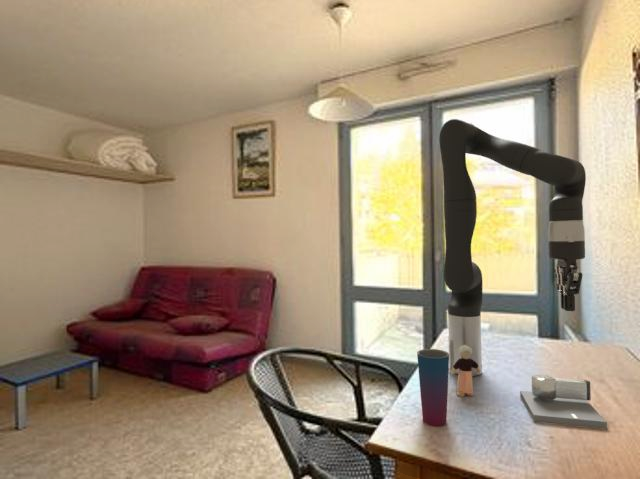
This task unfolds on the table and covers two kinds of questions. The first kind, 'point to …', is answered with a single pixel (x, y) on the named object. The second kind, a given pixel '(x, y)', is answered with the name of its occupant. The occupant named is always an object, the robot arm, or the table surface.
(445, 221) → the robot arm
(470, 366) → the grandmother figurine
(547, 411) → the base
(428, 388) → the cup
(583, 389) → the lever
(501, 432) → the table surface
